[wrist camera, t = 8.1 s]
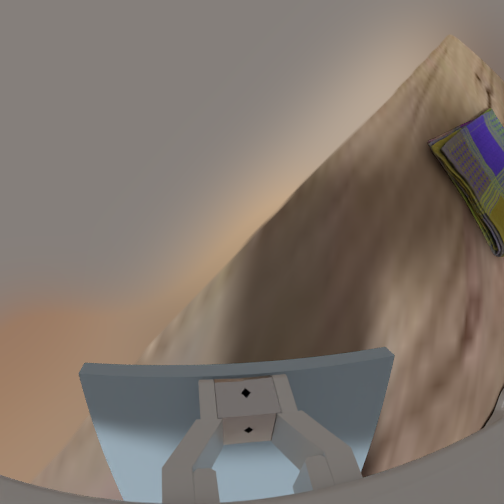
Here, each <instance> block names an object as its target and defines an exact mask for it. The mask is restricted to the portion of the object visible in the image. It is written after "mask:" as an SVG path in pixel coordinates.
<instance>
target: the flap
mask: <svg viewBox="0 0 504 504" xmlns="http://www.w3.org/2000/svg"><path fill="white" fill-rule="evenodd" d="M394 356H395V355H394V354H393V353H391V352H390V351H389V350H388V349H387V348H386V347H381V348H375V349H369V350H362V351H356V352H349V353H341V354H334V355H326V356H318V357H309V358H299V359H289V360H278V361H265V362H251V363H234V364H212V365H120V364H98V363H84V365H83V367H82V368H81V370H80V372H79V377H80V381H81V384H82V388H83V391H84V395H85V398H86V402H87V405H88V408H89V412H90V415H91V418H92V421H93V424H94V427H95V430H96V433H97V436H98V439H99V441H100V444H101V447H102V450H103V452H104V455H105V457H106V460H107V462H108V465H109V467H110V470H111V472H112V475H113V477H114V479H115V482H116V484H117V486H118V489H119V491H120V493H121V495H122V497H123V499H124V501H131V502H145V503H162V467H163V465H164V464H165V462H166V461H167V460H168V458H169V457H170V456H171V454H172V453H173V451H174V450H175V449H176V447H177V446H178V444H179V443H180V442H181V440H182V439H183V437H184V436H185V435H186V433H187V432H188V430H189V429H190V428H191V426H192V425H193V423H194V422H195V420H196V419H200V404H199V386H198V382H199V380H205V379H213V380H214V379H237V378H246V377H257V376H267V375H270V376H271V375H280V374H286V375H287V377H288V381H289V384H290V387H291V390H292V393H293V396H294V400H295V403H296V406H297V409H298V411H300V410H302V411H304V412H305V413H306V414H308V415H309V416H310V417H311V418H313V419H314V420H315V421H317V422H318V423H319V424H320V425H322V426H323V427H324V428H326V429H327V430H328V431H330V432H331V433H332V434H334V435H335V436H336V437H338V438H339V439H340V440H342V441H343V442H344V443H346V444H347V445H349V446H350V447H351V449H352V451H353V454H354V456H355V459H356V461H357V464H358V466H359V469H360V472H361V470H362V468H363V465H364V462H365V459H366V456H367V453H368V450H369V447H370V444H371V441H372V438H373V435H374V432H375V429H376V425H377V422H378V419H379V415H380V412H381V408H382V405H383V401H384V397H385V394H386V390H387V386H388V382H389V378H390V374H391V369H392V365H393V360H394ZM211 469H213V470H214V471H216V477H217V484H218V492H219V499H220V502H234V501H245V500H255V499H263V498H270V497H277V496H284V495H290V494H294V491H293V487H292V486H293V484H294V482H295V480H296V479H297V477H298V475H299V472H300V470H299V469H298V468H297V467H296V466H295V465H294V464H293V463H292V462H291V461H290V460H289V459H288V458H287V457H286V456H285V455H284V454H283V453H282V452H281V451H280V450H279V449H278V448H277V447H276V446H275V445H274V444H273V443H272V442H271V441H261V442H248V443H239V444H228V445H223V448H222V450H221V452H220V454H219V455H218V457H217V459H216V461H215V463H214V465H213V466H212V468H211Z"/></svg>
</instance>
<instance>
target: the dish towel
mask: <svg viewBox="0 0 504 504" xmlns="http://www.w3.org/2000/svg"><path fill="white" fill-rule="evenodd" d="M428 145H429V146H430V148H431V149H432V151H433V153H434V155H435V156H436V157H437V159H438V160H439V162H440V163H441V164H442V166H443V167H444V169H445V170H446V172H447V173H448V175H449V176H450V178H451V179H452V181H453V183H454V184H455V186H456V187H457V189H458V191H459V192H460V194H461V195H462V197H463V198H464V200H465V201H466V203H467V205H468V206H469V208H470V210H471V212H472V214H473V216H474V218H475V220H476V221H477V223H478V225H479V227H480V228H481V231H482V233H483V234H484V236H485V238H486V240H487V242H488V244H489V246H490V248H491V250H492V252H493V253H494V255H496V256H498V257H503V256H504V128H503V126H502V124H501V123H500V122H499V120H498V118H497V117H496V115H495V113H494V111H493V110H492V109H491V108H490V109H488V110H487V111H485V112H484V113H483V114H481V115H480V116H478V117H477V118H476V119H474V120H472V121H469V122H467V123H464V124H462V125H460V126H458V127H455V128H454V129H452V130H450V131H448V132H446V133H444V134H442V135H440V136H438V137H435V138H434V139H431V140H429V141H428Z"/></svg>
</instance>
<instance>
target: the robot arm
mask: <svg viewBox="0 0 504 504" xmlns="http://www.w3.org/2000/svg"><path fill="white" fill-rule="evenodd" d="M198 386H199V404H200V419H196V420H195V422H194V423H193V425H192V426H191V428H190V429H189V430H188V432H187V433H186V435H185V436H184V437H183V439H182V440H181V442H180V443H179V444H178V446H177V447H176V449H175V450H174V451H173V453H172V454H171V456H170V457H169V458H168V460H167V461H166V462H165V464H164V465H163V467H162V503H145V502H131V501H121V500H111V499H103V498H96V497H89V496H83V495H77V494H72V493H67V492H62V491H57V490H53V489H48V488H44V487H40V486H36V485H32V484H28V483H24V482H21V481H18V480H15V479H11V478H8V477H5V476H2V475H0V504H504V389H503V390H502V392H501V394H500V396H499V399H498V402H497V405H496V407H495V410H494V412H493V414H492V416H491V418H490V419H489V421H488V422H487V423H486V425H485V427H484V428H483V429H481V430H479V431H477V432H475V433H473V434H471V435H470V436H468V437H466V438H464V439H461V440H459V441H457V442H455V443H453V444H451V445H449V446H447V447H445V448H442V449H440V450H438V451H435V452H433V453H431V454H428V455H426V456H424V457H421V458H419V459H416V460H413V461H411V462H408V463H406V464H403V465H400V466H397V467H395V468H392V469H389V470H386V471H383V472H380V473H377V474H373V475H370V476H367V477H362V474H361V472H360V469H359V466H358V464H357V461H356V459H355V456H354V454H353V451H352V449H351V447H350V446H349V445H347V444H346V443H344V442H343V441H342V440H340V439H339V438H338V437H336V436H335V435H334V434H332V433H331V432H330V431H328V430H327V429H326V428H324V427H323V426H322V425H320V424H319V423H318V422H317V421H315V420H314V419H313V418H311V417H310V416H309V415H308V414H306V413H305V412H304V411H302V410H300V411H298V409H297V406H296V403H295V400H294V396H293V393H292V390H291V387H290V384H289V381H288V377H287V375H286V374H280V375H271V376H270V375H267V376H257V377H246V378H237V379H214V380H213V379H205V380H199V382H198ZM261 441H271V442H272V443H273V444H274V445H275V446H276V447H277V448H278V449H279V450H280V451H281V452H282V453H283V454H284V455H285V456H286V457H287V458H288V459H289V460H290V461H291V462H292V463H293V464H294V465H295V466H296V467H297V468H298V469H299V470H300V472H299V475H298V477H297V479H296V480H295V482H294V484H293V486H292V487H293V491H294V494H290V495H284V496H277V497H270V498H263V499H255V500H245V501H234V502H220V499H219V492H218V484H217V477H216V471H214V470H213V469H211V468H212V466H213V465H214V463H215V461H216V459H217V457H218V455H219V454H220V452H221V450H222V448H223V445H228V444H239V443H248V442H261Z"/></svg>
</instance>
